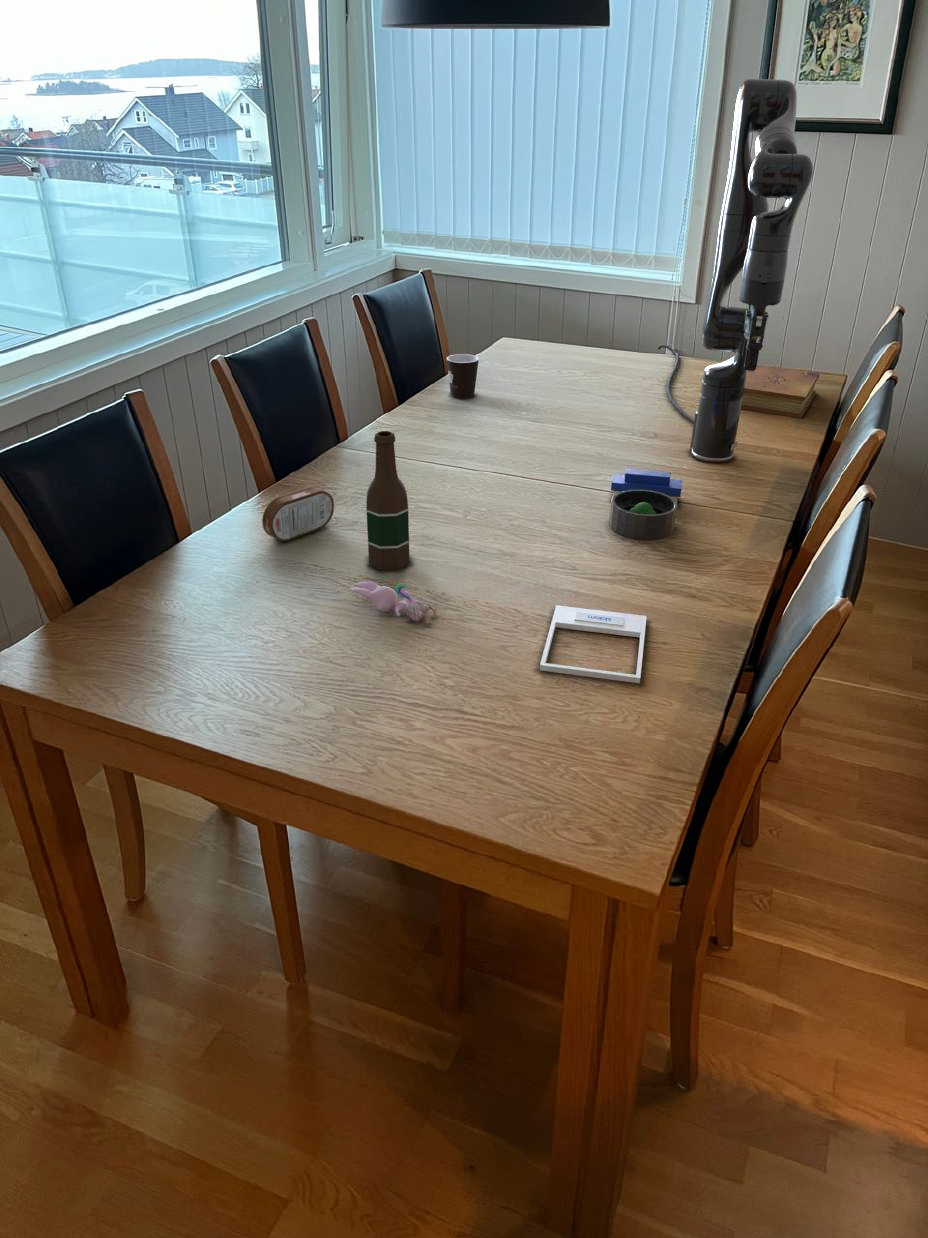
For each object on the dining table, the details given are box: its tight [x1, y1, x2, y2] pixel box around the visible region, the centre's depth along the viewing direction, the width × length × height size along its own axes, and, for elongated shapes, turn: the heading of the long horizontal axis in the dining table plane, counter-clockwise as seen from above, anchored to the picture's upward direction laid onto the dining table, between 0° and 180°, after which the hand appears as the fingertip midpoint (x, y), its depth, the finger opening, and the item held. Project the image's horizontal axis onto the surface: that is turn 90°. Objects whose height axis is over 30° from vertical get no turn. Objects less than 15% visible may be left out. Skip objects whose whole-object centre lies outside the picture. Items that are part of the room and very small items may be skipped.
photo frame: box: [539, 604, 647, 684], centre depth 141 cm, size 15×1×18 cm
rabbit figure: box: [349, 580, 437, 626], centre depth 148 cm, size 6×6×15 cm
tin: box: [261, 485, 335, 542], centre depth 172 cm, size 15×3×8 cm, turn 134°
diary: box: [741, 364, 821, 418], centre depth 247 cm, size 23×19×6 cm
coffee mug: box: [446, 353, 480, 400], centre depth 249 cm, size 12×9×10 cm
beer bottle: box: [365, 430, 410, 572], centre depth 159 cm, size 8×8×24 cm
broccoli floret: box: [628, 502, 657, 515], centre depth 176 cm, size 5×6×5 cm
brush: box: [610, 468, 683, 503], centre depth 188 cm, size 14×5×6 cm, turn 78°
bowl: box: [608, 490, 678, 541], centre depth 177 cm, size 12×12×6 cm
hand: (748, 363), depth 176 cm, fingers open, 8 cm apart
